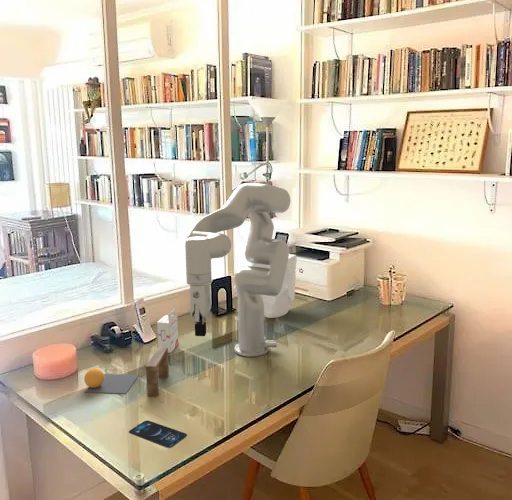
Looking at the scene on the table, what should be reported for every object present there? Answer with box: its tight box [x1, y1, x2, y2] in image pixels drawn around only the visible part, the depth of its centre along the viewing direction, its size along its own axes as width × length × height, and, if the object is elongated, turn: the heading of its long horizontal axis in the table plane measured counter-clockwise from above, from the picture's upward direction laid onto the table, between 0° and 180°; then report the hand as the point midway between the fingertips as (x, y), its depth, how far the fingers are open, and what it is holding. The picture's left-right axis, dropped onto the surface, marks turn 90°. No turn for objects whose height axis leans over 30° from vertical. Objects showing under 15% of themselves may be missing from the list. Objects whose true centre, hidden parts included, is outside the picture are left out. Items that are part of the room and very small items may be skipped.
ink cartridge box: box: [156, 307, 179, 354], centre depth 199 cm, size 9×5×15 cm, turn 168°
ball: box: [83, 367, 105, 388], centre depth 170 cm, size 6×6×6 cm
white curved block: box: [232, 253, 297, 319], centre depth 242 cm, size 21×27×26 cm
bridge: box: [145, 346, 170, 397], centre depth 170 cm, size 3×15×10 cm, turn 176°
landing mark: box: [84, 373, 139, 395], centre depth 172 cm, size 13×13×1 cm
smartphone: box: [128, 420, 188, 449], centre depth 144 cm, size 8×1×15 cm
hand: (200, 335), depth 167 cm, fingers closed
